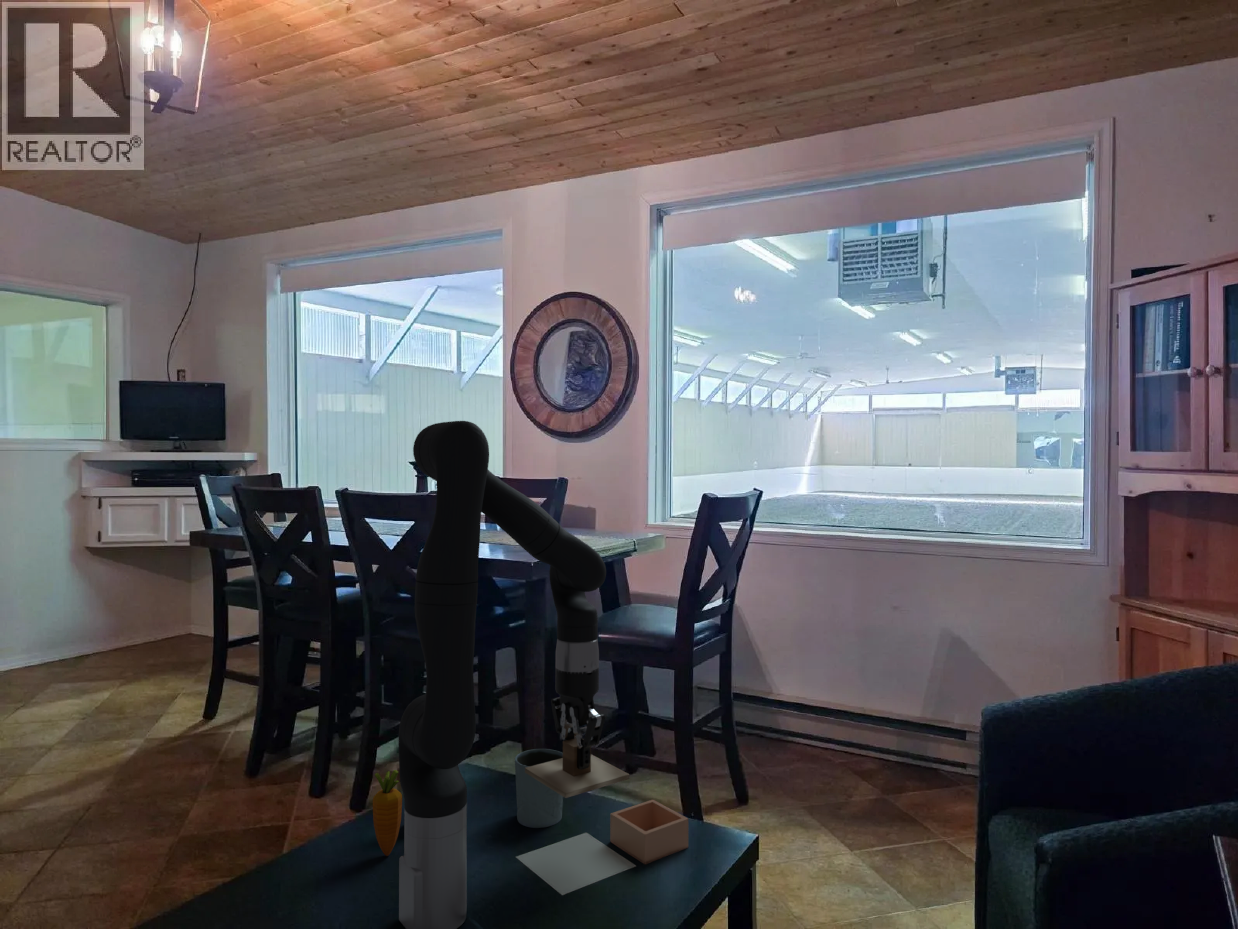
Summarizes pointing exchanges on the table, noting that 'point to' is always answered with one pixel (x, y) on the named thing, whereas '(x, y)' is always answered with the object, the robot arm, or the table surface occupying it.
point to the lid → (575, 773)
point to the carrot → (387, 812)
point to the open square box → (649, 831)
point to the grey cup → (536, 791)
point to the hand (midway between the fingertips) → (576, 764)
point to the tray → (575, 863)
